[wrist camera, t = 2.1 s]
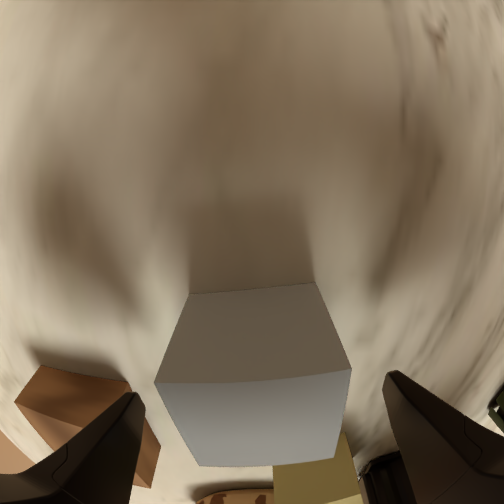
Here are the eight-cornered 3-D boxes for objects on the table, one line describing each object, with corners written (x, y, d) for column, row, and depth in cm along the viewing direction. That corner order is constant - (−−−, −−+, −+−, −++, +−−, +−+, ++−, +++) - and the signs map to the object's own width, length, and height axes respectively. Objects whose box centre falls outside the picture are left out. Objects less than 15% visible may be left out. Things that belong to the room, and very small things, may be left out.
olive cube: (344, 431, 15) (360, 493, 10) (352, 457, 16) (364, 508, 12) (271, 450, 15) (274, 512, 11) (291, 473, 17) (295, 524, 12)
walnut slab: (129, 379, 13) (105, 433, 9) (161, 443, 16) (150, 488, 12) (42, 363, 13) (13, 401, 10) (82, 427, 16) (66, 463, 12)
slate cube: (315, 281, 11) (351, 368, 6) (314, 372, 13) (333, 457, 8) (189, 293, 11) (154, 382, 6) (212, 380, 13) (199, 466, 8)
